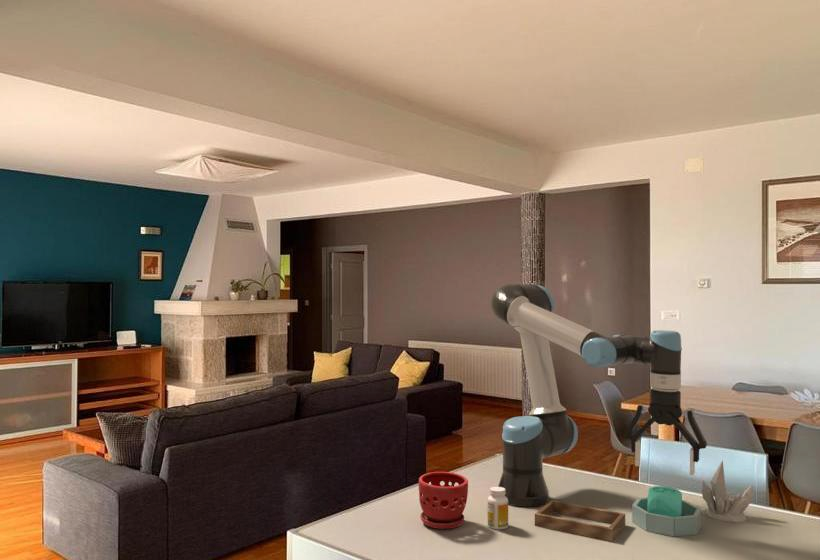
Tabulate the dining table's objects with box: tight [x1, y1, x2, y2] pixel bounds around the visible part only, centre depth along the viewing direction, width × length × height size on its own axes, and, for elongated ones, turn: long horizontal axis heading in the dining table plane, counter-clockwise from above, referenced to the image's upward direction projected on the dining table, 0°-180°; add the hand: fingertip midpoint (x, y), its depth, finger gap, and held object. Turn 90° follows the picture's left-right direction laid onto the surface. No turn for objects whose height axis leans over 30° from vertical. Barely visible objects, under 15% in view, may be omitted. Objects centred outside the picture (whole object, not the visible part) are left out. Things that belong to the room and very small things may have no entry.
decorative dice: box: [647, 485, 683, 517], centre depth 166 cm, size 8×8×8 cm
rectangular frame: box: [534, 499, 626, 542], centre depth 165 cm, size 20×13×3 cm, turn 57°
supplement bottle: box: [487, 486, 509, 530], centre depth 165 cm, size 5×5×10 cm
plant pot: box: [418, 471, 469, 530], centre depth 167 cm, size 13×13×12 cm
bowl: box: [631, 496, 702, 537], centre depth 166 cm, size 16×16×4 cm
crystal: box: [701, 460, 755, 523], centre depth 173 cm, size 10×13×15 cm
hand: (664, 469), depth 167 cm, fingers open, 13 cm apart
